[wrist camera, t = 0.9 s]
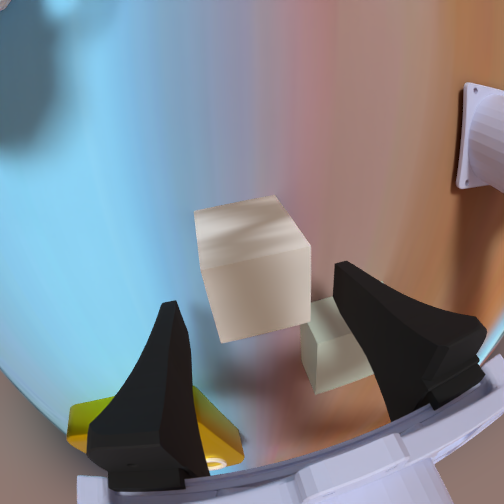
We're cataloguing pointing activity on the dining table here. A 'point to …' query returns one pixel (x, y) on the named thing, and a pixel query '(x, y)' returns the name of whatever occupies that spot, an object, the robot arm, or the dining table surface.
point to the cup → (4, 4)
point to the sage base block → (330, 349)
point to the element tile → (209, 422)
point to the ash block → (254, 267)
